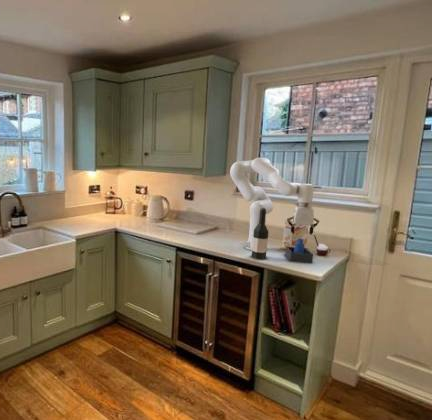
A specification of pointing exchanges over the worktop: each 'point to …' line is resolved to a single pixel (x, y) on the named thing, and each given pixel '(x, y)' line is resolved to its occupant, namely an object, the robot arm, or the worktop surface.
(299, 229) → the coffeecake box
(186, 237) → the worktop surface
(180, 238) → the worktop surface
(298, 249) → the bottle
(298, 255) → the dark grey tray
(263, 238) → the wine bottle
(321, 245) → the cocoa
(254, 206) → the robot arm
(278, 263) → the worktop surface
